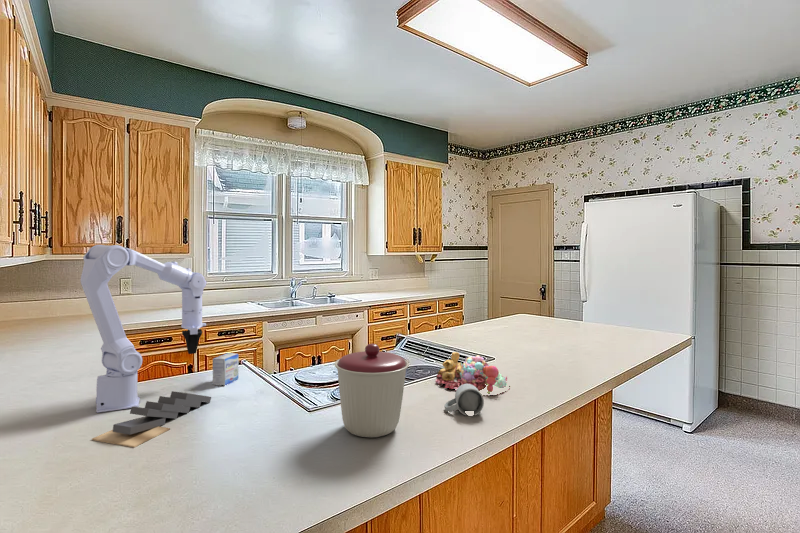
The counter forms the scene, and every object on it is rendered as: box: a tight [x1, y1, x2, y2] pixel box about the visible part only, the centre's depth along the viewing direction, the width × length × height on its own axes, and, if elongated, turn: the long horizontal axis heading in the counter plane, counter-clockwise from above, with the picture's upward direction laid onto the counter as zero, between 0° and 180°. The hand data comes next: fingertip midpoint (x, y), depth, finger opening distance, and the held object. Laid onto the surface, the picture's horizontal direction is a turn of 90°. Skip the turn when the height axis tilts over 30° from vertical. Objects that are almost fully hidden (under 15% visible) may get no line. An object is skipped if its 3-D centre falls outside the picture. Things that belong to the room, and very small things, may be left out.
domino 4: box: [157, 395, 202, 409], centre depth 115 cm, size 2×5×10 cm
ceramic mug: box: [444, 384, 485, 416], centre depth 120 cm, size 10×8×7 cm
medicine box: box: [212, 352, 240, 387], centre depth 141 cm, size 8×4×9 cm, turn 168°
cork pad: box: [91, 426, 171, 448], centre depth 101 cm, size 10×12×1 cm
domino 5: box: [169, 391, 212, 404], centre depth 119 cm, size 2×5×10 cm
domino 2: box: [129, 406, 179, 419], centre depth 107 cm, size 2×5×10 cm
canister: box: [334, 343, 410, 438], centre depth 106 cm, size 18×18×21 cm
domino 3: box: [144, 400, 191, 414], centre depth 111 cm, size 2×5×10 cm
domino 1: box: [112, 416, 167, 435], centre depth 103 cm, size 2×5×10 cm
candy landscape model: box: [435, 351, 508, 394], centre depth 145 cm, size 25×24×9 cm
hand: (192, 353), depth 136 cm, fingers closed
